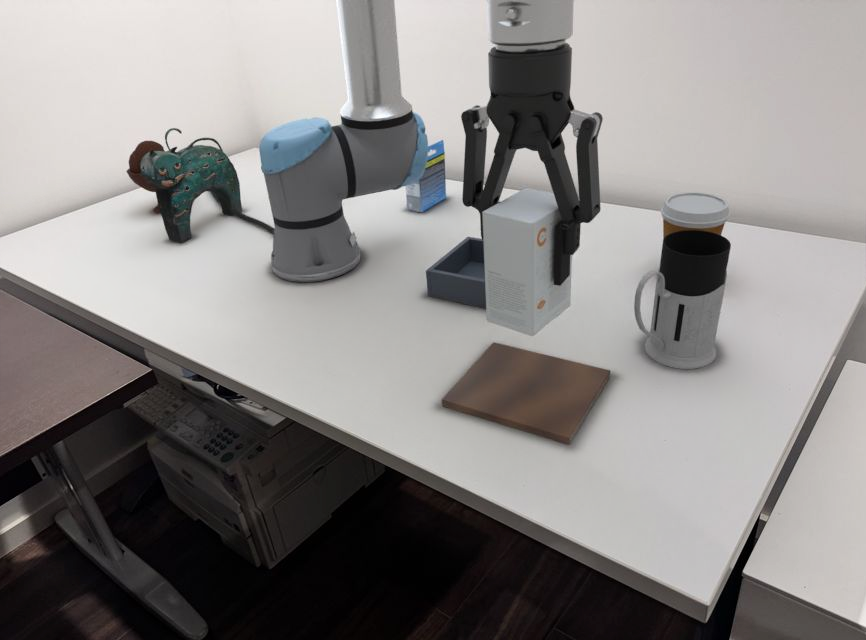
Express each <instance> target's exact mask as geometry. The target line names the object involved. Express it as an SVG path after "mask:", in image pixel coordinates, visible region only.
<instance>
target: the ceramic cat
mask: <svg viewBox="0 0 866 640" xmlns="http://www.w3.org/2000/svg"><path fill="white" fill-rule="evenodd" d="M172 131H176V132H178V133H179V134H182V133H183V132H182V130H181V129H180V128H176V127H172V128H171V127H170V128H169V129H168V130H167V131H165V133H164V140H165V145H166V147H167V149H168V150H164V151H153V150H152V149H151V151H150V152H148V153H147V154H146V155H145V156H144V157H143V158H142V160H141V164H140V165H141V172H142V176H143V178H144V180H145V181H146V182H147V183H148V184H150V185H151V186H153V187H154V188H155V190H156V192H155V196H156V201H157V205H158V207H159V211H160V213H161V214H160V215H161V219H162V222H163V224H164V229H165V232H166V235H167V238H168V240H169V241H171V242H174V243H179V244H183V243H185V242H187V241H188V240H190V239H192V238H193V236H192V228H191V215H192V210H193V209H192V208H193V205H194V202H195V200H196V199H198V197H200V196H201V195H202V194H204V193H205V192H210V193H211V192H213V193H214V194H215V195H216V196H217V198H218V201H219V203H220V204H219V203H218V204H219V205H220V208H221V212H222V214H223V215H227V216H230V217H231V216H235V215H234V214H233V213H232V211H233V210H236V211H238V212H240V213H242V211H243V205H242V199H241V197H242V196H241V184H240V180H239V175H238V173H237V170H236V168H235V166H234V164H233V163H232V162H231V160H230V157H229V156H228V155H227V153H225V152H224V150H223V148H222V146H221V145H220V142H218V140H217V139H215V138H213V137H200V138H197V139H194V140H193V141H192V142H191V143H190V144H189V145H187V146H186V147H183V148H182V149H180V150H177V149H178V146H174V147H172V148H170V146H169V143H168V135H169V134H170V133H171V132H172ZM200 141H212V142H213V143H215V144H216V145H217V146H218V147H215V146H211V145H203V144H196V143H198V142H200ZM218 201H217V202H218Z"/></svg>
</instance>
